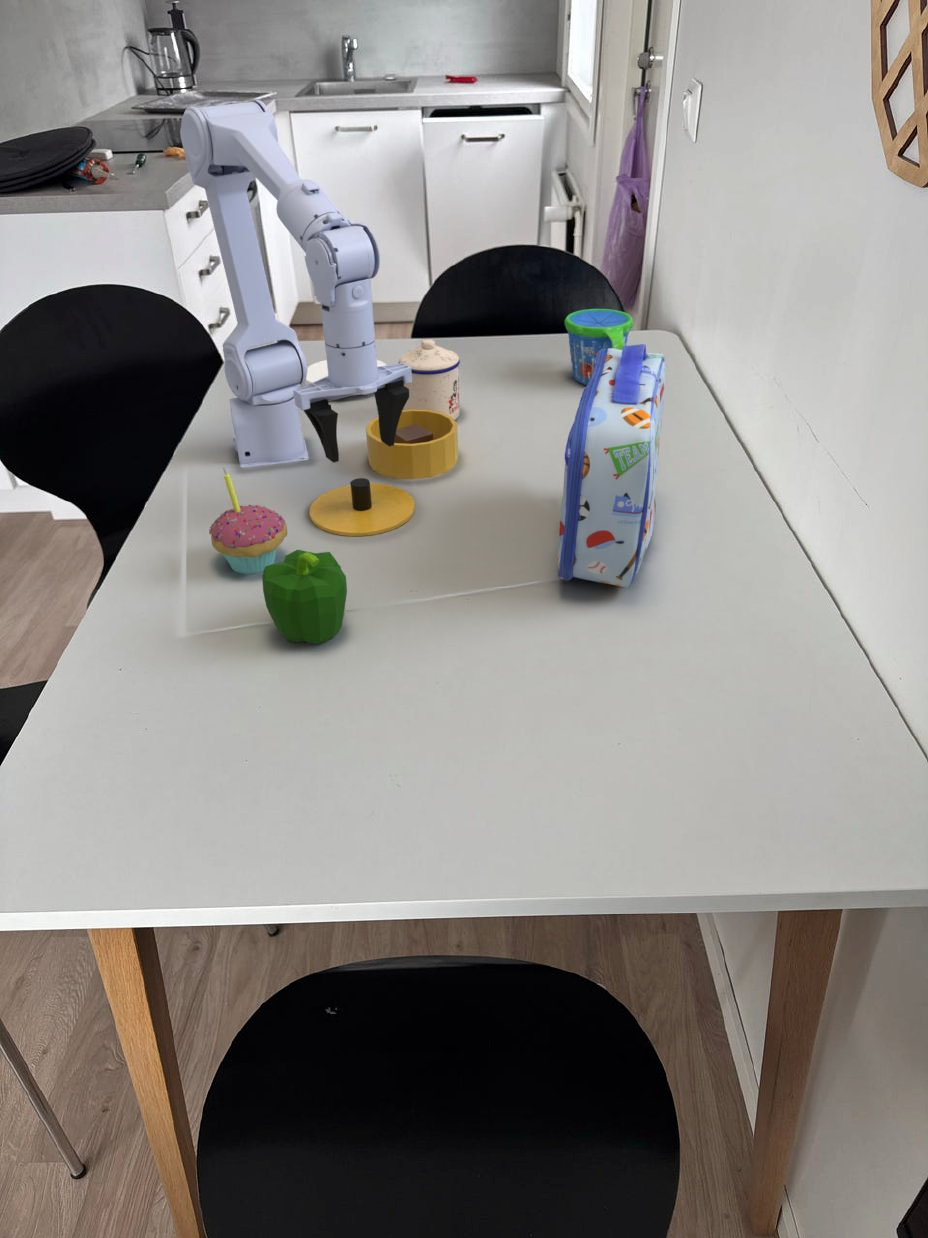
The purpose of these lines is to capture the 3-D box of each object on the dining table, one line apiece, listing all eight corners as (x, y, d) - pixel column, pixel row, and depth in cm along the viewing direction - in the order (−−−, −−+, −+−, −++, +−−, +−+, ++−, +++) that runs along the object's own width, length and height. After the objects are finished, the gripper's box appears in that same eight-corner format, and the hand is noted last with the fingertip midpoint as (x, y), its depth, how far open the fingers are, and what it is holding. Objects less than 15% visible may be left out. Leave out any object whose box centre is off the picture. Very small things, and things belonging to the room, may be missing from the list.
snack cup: (550, 366, 162) (552, 306, 156) (609, 360, 163) (613, 300, 158) (580, 399, 149) (583, 335, 143) (643, 392, 151) (648, 329, 145)
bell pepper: (264, 618, 101) (249, 536, 95) (339, 602, 103) (329, 521, 97) (279, 663, 94) (265, 578, 88) (359, 644, 96) (350, 560, 91)
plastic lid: (298, 377, 160) (296, 362, 159) (379, 366, 163) (377, 352, 162) (312, 406, 149) (310, 391, 148) (398, 395, 152) (397, 379, 151)
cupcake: (201, 574, 108) (181, 479, 101) (248, 541, 114) (232, 449, 108) (261, 592, 105) (244, 495, 98) (306, 557, 111) (293, 463, 104)
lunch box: (576, 487, 124) (584, 319, 112) (656, 493, 122) (674, 322, 110) (548, 602, 102) (555, 408, 90) (646, 611, 100) (667, 414, 88)
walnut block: (408, 469, 129) (406, 440, 126) (392, 458, 132) (390, 430, 129) (434, 461, 131) (433, 433, 128) (418, 451, 134) (417, 423, 131)
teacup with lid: (463, 426, 141) (461, 349, 135) (402, 429, 141) (397, 352, 134) (457, 396, 151) (455, 323, 145) (400, 399, 151) (395, 326, 144)
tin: (377, 487, 125) (374, 450, 122) (363, 450, 135) (360, 414, 132) (466, 476, 128) (465, 439, 125) (446, 440, 137) (445, 405, 134)
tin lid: (316, 547, 113) (311, 513, 110) (305, 497, 124) (301, 466, 121) (424, 532, 115) (422, 499, 113) (405, 485, 126) (403, 453, 123)
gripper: (307, 363, 101) (321, 478, 109) (422, 336, 108) (428, 447, 116) (280, 346, 106) (295, 457, 114) (391, 321, 113) (399, 428, 121)
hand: (360, 451), depth 115 cm, fingers open, 7 cm apart
